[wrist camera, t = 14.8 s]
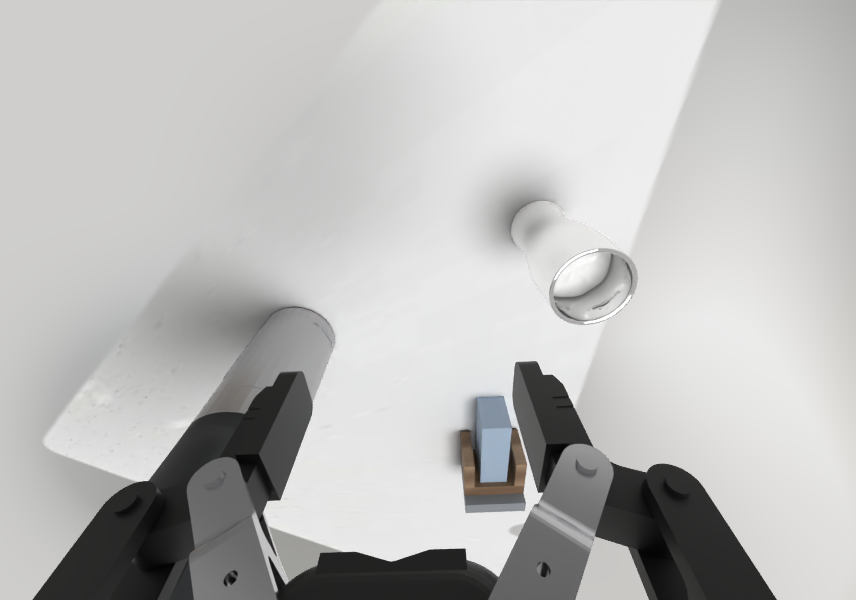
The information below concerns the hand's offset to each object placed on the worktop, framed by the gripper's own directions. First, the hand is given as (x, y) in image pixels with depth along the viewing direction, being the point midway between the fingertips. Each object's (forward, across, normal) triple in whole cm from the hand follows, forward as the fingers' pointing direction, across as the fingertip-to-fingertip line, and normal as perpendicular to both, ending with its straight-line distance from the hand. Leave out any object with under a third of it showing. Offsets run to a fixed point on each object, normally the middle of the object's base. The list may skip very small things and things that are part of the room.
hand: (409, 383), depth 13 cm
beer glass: (+28, -13, +4) cm, 31 cm away
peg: (+28, -8, +36) cm, 46 cm away
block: (+28, -8, +40) cm, 50 cm away
